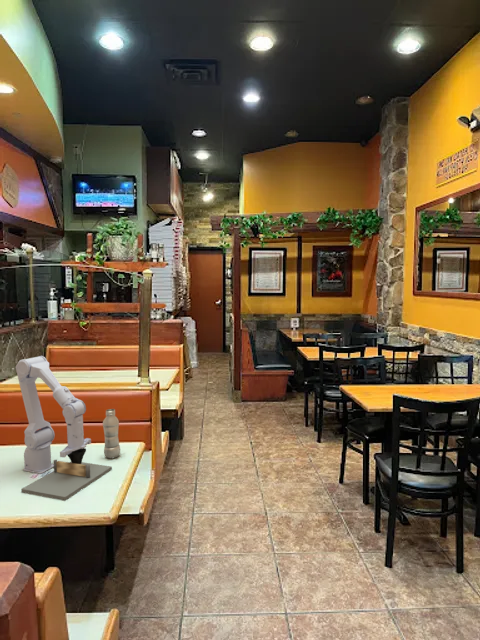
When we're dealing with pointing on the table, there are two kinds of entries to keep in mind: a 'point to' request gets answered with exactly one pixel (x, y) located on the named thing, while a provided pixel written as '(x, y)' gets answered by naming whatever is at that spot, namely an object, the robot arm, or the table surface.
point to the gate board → (65, 482)
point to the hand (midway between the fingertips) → (77, 468)
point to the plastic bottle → (111, 434)
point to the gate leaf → (71, 468)
